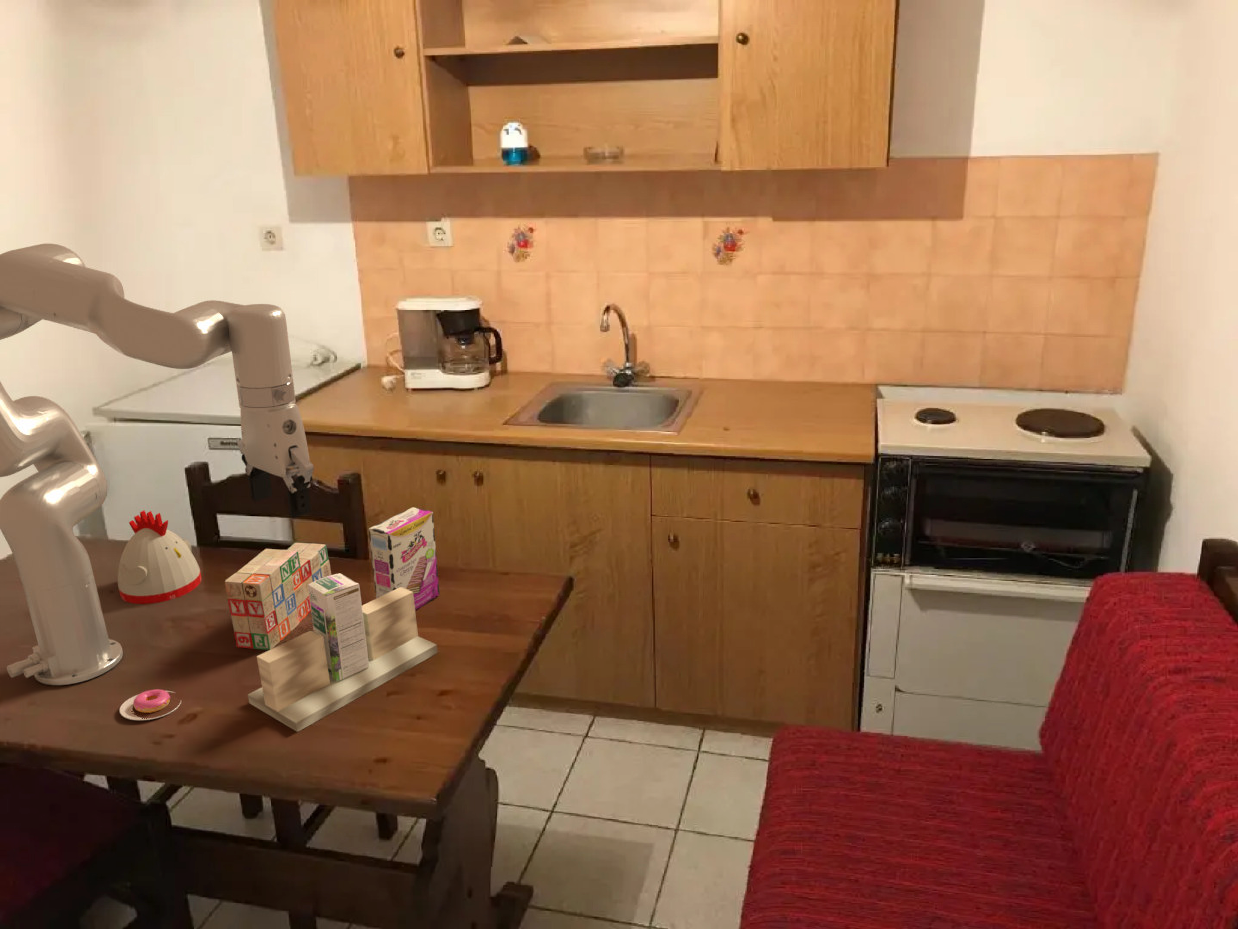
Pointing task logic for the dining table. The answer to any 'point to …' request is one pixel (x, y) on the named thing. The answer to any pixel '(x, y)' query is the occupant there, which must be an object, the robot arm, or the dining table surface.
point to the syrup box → (339, 624)
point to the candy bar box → (405, 555)
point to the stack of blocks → (274, 593)
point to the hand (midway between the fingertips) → (280, 506)
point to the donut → (146, 704)
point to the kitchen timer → (156, 563)
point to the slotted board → (348, 685)
